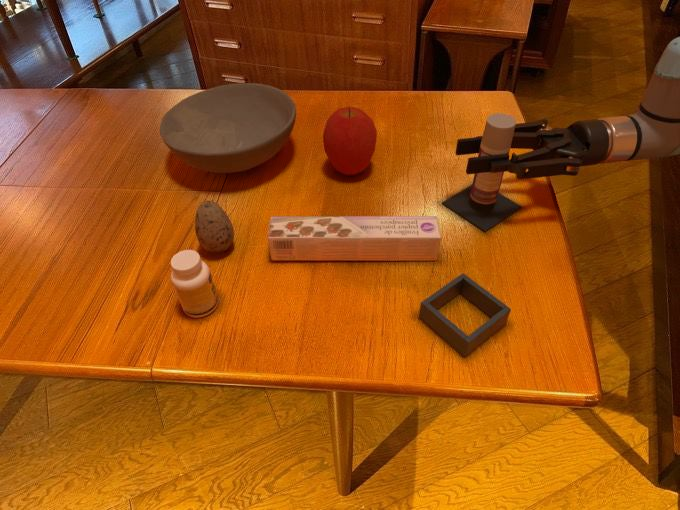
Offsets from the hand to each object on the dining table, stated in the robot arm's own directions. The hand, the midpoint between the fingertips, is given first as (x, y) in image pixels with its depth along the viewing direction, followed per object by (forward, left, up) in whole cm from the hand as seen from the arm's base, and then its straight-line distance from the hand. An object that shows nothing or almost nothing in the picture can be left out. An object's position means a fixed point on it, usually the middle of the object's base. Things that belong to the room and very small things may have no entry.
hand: (462, 156), depth 79 cm
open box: (-18, +17, -11) cm, 27 cm away
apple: (+21, +6, -11) cm, 25 cm away
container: (-3, -5, -9) cm, 11 cm away
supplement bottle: (+9, +45, -11) cm, 48 cm away
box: (+3, +20, -11) cm, 24 cm away
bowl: (+40, +21, -11) cm, 47 cm away
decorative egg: (+18, +37, -11) cm, 43 cm away
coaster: (-3, -5, -11) cm, 12 cm away
